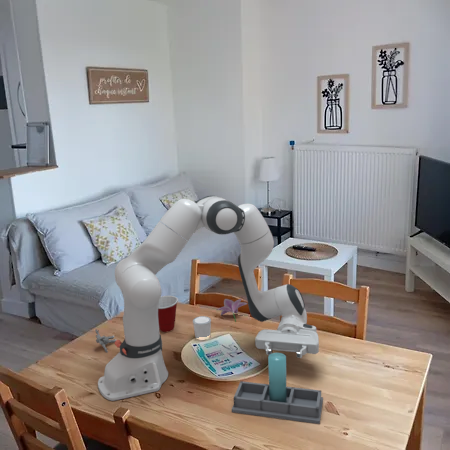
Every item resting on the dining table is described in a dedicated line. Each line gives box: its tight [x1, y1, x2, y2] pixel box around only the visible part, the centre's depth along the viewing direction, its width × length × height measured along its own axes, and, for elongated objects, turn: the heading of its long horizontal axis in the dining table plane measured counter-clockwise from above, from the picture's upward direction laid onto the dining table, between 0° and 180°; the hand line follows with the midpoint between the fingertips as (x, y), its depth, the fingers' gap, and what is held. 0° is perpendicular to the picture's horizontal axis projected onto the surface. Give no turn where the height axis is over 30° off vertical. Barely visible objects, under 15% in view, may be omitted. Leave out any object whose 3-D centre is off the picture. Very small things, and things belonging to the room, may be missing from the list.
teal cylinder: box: [267, 352, 287, 403], centre depth 142 cm, size 5×5×15 cm
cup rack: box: [231, 380, 324, 425], centre depth 144 cm, size 25×11×4 cm, turn 74°
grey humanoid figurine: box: [95, 329, 117, 353], centre depth 183 cm, size 10×6×9 cm
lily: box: [216, 298, 248, 323], centre depth 200 cm, size 12×12×10 cm
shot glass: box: [192, 315, 212, 339], centre depth 186 cm, size 7×7×7 cm
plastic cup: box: [158, 295, 179, 333], centre depth 193 cm, size 11×11×12 cm
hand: (283, 354), depth 152 cm, fingers open, 8 cm apart
